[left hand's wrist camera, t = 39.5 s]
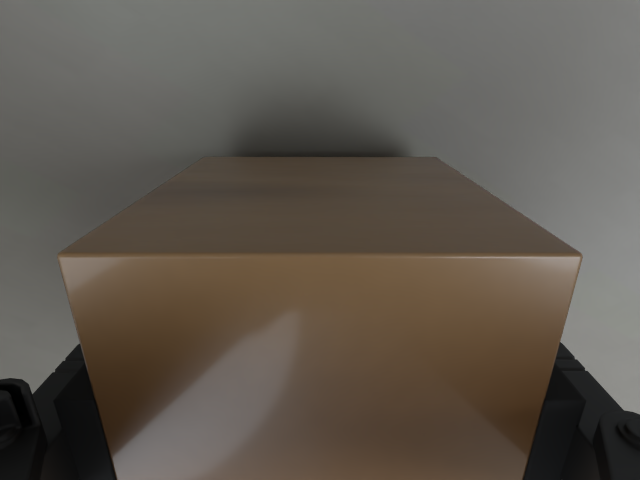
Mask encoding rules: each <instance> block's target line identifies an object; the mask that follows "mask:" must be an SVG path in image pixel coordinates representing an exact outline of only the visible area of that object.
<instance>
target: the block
mask: <svg viewBox="0 0 640 480" xmlns="http://www.w3.org/2000/svg"><path fill="white" fill-rule="evenodd" d="M57 258H58V262H59V266H60V270H61V273H62V277H63V281H64V285H65V288H66V292H67V296H68V300H69V303H70V307H71V311H72V315H73V319H74V322H75V326H76V330H77V334H78V337H79V341H80V345H81V349H82V352H83V356H84V360H85V364H86V367H87V371H88V375H89V379H90V383H91V386H92V390H93V394H94V398H95V401H96V405H97V409H98V413H99V416H100V420H101V424H102V428H103V431H104V435H105V439H106V443H107V447H108V450H109V454H110V458H111V462H112V465H113V469H114V473H115V477H116V480H523V479H524V475H525V471H526V467H527V464H528V460H529V456H530V452H531V449H532V445H533V441H534V437H535V434H536V430H537V426H538V423H539V419H540V415H541V411H542V408H543V404H544V400H545V396H546V393H547V389H548V385H549V381H550V378H551V374H552V370H553V366H554V363H555V359H556V355H557V351H558V348H559V344H560V340H561V336H562V333H563V329H564V325H565V321H566V318H567V314H568V310H569V306H570V303H571V299H572V295H573V291H574V288H575V284H576V280H577V276H578V273H579V269H580V265H581V261H582V254H581V253H580V252H579V251H577V250H576V249H574V248H573V247H571V246H570V245H568V244H567V243H565V242H564V241H562V240H561V239H559V238H558V237H556V236H555V235H553V234H552V233H550V232H549V231H547V230H545V229H544V228H542V227H541V226H539V225H538V224H536V223H535V222H533V221H532V220H530V219H529V218H527V217H526V216H524V215H523V214H521V213H520V212H518V211H517V210H515V209H514V208H512V207H511V206H509V205H508V204H506V203H505V202H503V201H502V200H500V199H499V198H497V197H496V196H494V195H493V194H491V193H490V192H488V191H487V190H485V189H484V188H482V187H480V186H479V185H477V184H476V183H474V182H473V181H471V180H470V179H468V178H467V177H465V176H464V175H462V174H461V173H459V172H458V171H456V170H455V169H453V168H452V167H450V166H449V165H447V164H446V163H444V162H443V161H441V160H440V159H438V158H437V157H203V158H201V159H200V160H198V161H197V162H195V163H194V164H192V165H191V166H189V167H188V168H186V169H185V170H183V171H182V172H180V173H179V174H177V175H176V176H174V177H173V178H171V179H170V180H168V181H167V182H165V183H164V184H162V185H161V186H159V187H157V188H156V189H154V190H153V191H151V192H150V193H148V194H147V195H145V196H144V197H142V198H141V199H139V200H138V201H136V202H135V203H133V204H132V205H130V206H129V207H127V208H126V209H124V210H123V211H121V212H120V213H118V214H117V215H115V216H114V217H112V218H111V219H109V220H108V221H106V222H105V223H103V224H102V225H100V226H99V227H97V228H96V229H94V230H93V231H91V232H89V233H88V234H86V235H85V236H83V237H82V238H80V239H79V240H77V241H76V242H74V243H73V244H71V245H70V246H68V247H67V248H65V249H64V250H62V251H61V252H59V253H58V256H57Z"/></svg>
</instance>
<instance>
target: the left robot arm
mask: <svg viewBox="0 0 640 480" xmlns="http://www.w3.org/2000/svg"><path fill="white" fill-rule="evenodd" d="M0 480H116V477H115V473H114V469H113V465H112V462H111V458H110V454H109V450H108V447H107V443H106V439H105V435H104V431H103V428H102V424H101V420H100V416H99V413H98V409H97V405H96V401H95V398H94V394H93V390H92V386H91V383H90V379H89V375H88V371H87V367H86V364H85V360H84V356H83V352H82V349H81V345H80V344H78V345H77V346H76V347H75V349H74V350H73V351H72V352H71V353H70V354H69V355H68V356H67V357H66V360H65V361H63V362H62V363H61V364H60V365H59V366H58V367H57V368H56V369H55V372H53V373H52V374H51V375H50V376H49V377H48V378H47V379H46V380H45V381H44V382H43V384H42V385H41V386H40V387H39V388H38V389H37V390H36V391H35V392H34V393H33V394H32V393H31V390H30V387H29V384H28V383H26V382H25V381H23V380H22V379H13V378H8V379H2V380H0ZM523 480H640V415H639V414H637V413H634V412H630V411H624V410H623V409H622V408H621V407H620V406H619V405H618V404H617V403H616V401H615V400H614V399H613V398H612V397H611V396H610V395H609V394H608V393H607V392H606V391H605V390H604V388H603V387H602V386H601V385H600V384H599V383H598V382H597V381H596V380H595V379H594V378H593V376H592V375H591V374H590V373H589V372H588V371H585V368H584V367H583V366H582V365H581V363H580V362H579V361H578V360H575V358H574V356H573V355H572V354H571V353H570V351H569V350H568V349H567V348H566V347H565V346H564V345H563V344H562V343H561V342H560V344H559V348H558V351H557V355H556V359H555V363H554V366H553V370H552V374H551V378H550V381H549V385H548V389H547V393H546V396H545V400H544V404H543V408H542V411H541V415H540V419H539V423H538V426H537V430H536V434H535V437H534V441H533V445H532V449H531V452H530V456H529V460H528V464H527V467H526V471H525V475H524V479H523Z"/></svg>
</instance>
